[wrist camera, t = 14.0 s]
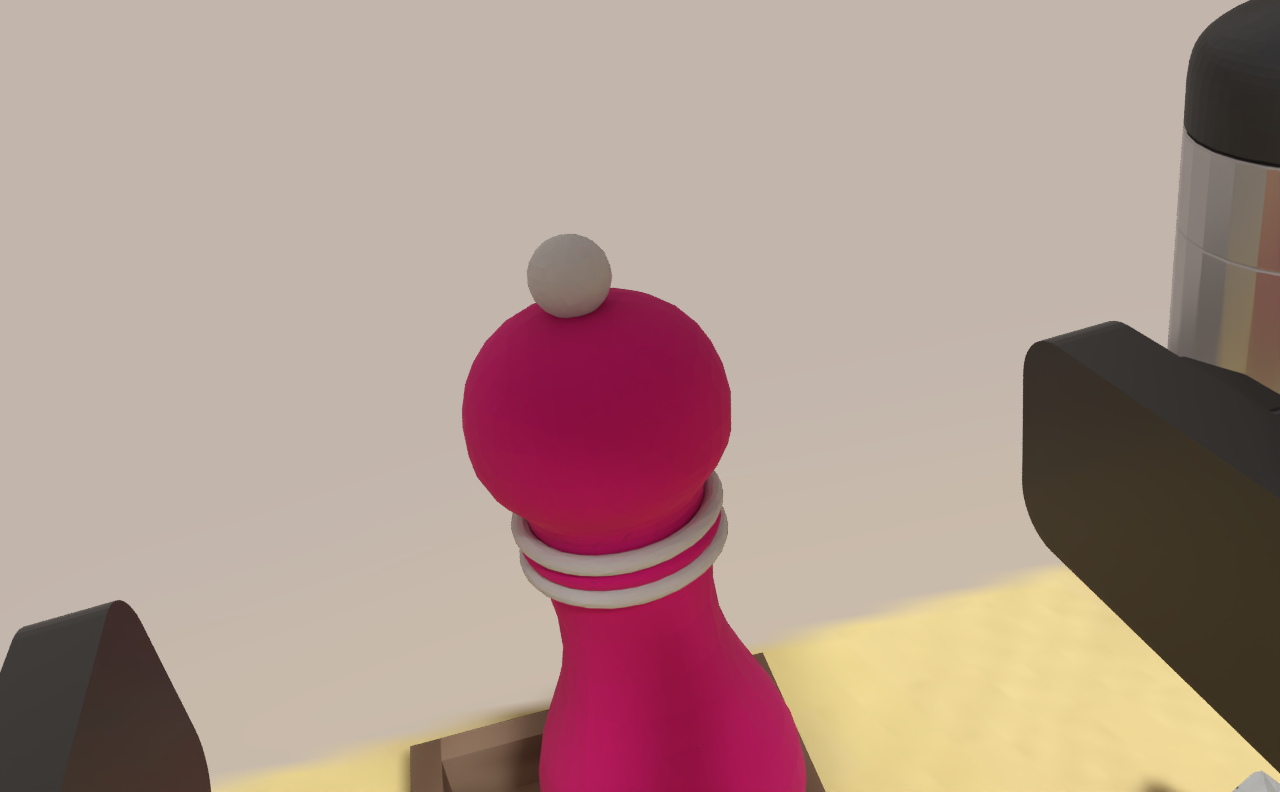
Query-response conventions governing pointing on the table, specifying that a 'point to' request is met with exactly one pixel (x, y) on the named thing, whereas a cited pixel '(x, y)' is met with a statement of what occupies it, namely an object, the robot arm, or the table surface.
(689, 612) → the pepper mill
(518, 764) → the tray
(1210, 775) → the table surface
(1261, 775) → the egg carton
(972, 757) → the table surface
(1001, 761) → the table surface
